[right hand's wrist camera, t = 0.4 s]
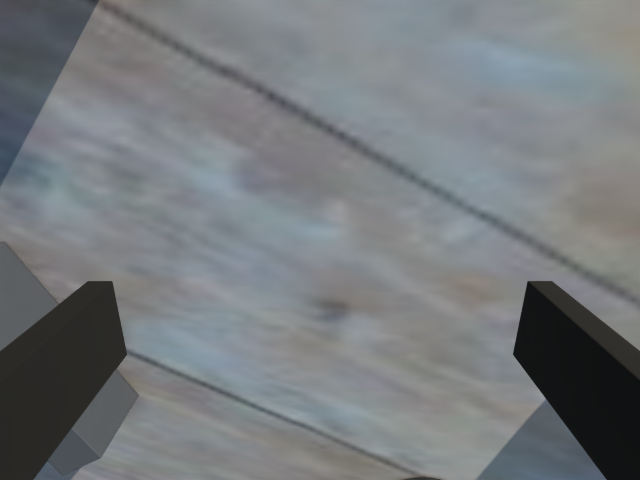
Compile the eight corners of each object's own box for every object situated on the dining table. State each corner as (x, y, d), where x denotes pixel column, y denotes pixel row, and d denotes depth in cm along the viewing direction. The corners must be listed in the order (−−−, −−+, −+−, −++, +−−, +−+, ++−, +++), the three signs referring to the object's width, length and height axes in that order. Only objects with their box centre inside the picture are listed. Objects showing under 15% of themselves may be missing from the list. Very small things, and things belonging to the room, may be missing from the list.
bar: (139, 395, 47) (101, 458, 39) (106, 410, 48) (62, 475, 40) (4, 241, 41) (-76, 278, 32) (-32, 262, 41) (-119, 304, 33)
